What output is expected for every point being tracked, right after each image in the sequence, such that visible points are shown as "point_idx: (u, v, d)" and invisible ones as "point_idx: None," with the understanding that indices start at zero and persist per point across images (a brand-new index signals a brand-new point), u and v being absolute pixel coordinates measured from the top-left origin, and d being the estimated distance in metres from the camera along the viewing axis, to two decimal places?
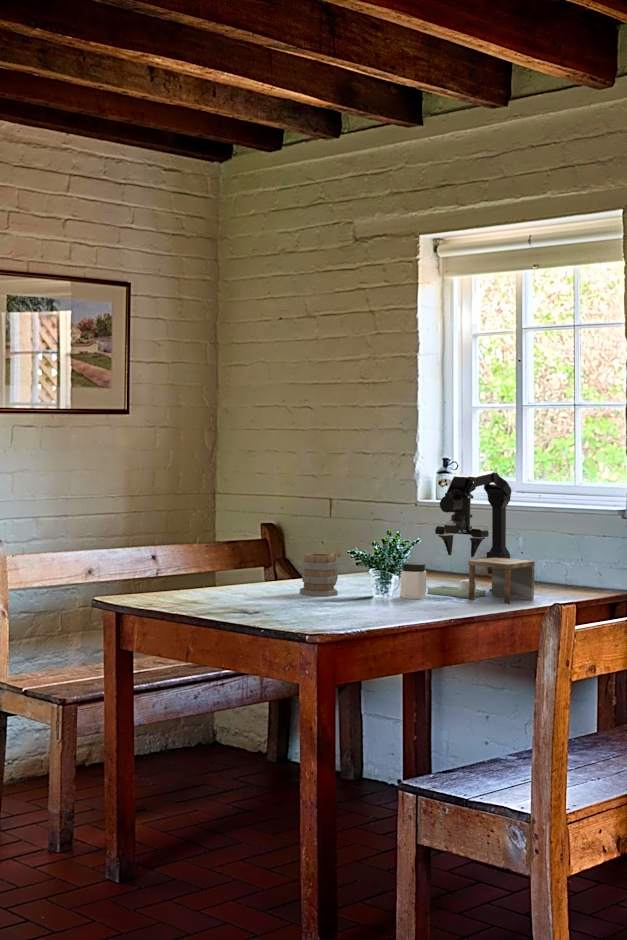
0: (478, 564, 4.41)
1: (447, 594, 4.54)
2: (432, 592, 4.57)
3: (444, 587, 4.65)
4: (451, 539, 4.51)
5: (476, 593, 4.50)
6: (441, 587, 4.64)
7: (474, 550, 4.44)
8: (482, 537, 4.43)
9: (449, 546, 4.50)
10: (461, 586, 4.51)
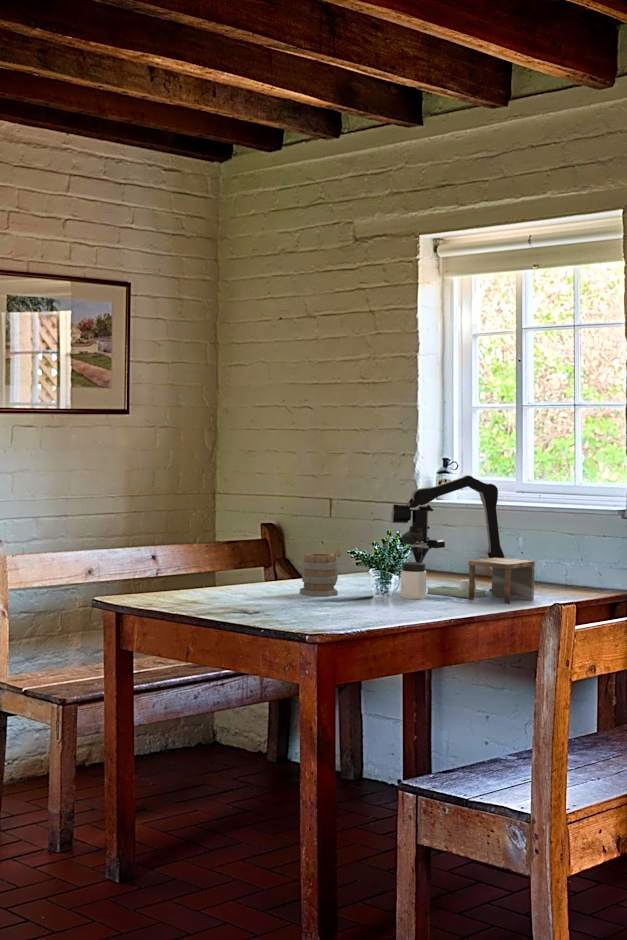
0: (478, 564, 4.41)
1: (447, 594, 4.54)
2: (432, 592, 4.57)
3: (444, 587, 4.65)
4: None
5: (476, 593, 4.50)
6: (441, 587, 4.64)
7: (421, 559, 4.66)
8: (428, 547, 4.65)
9: None
10: (461, 586, 4.51)
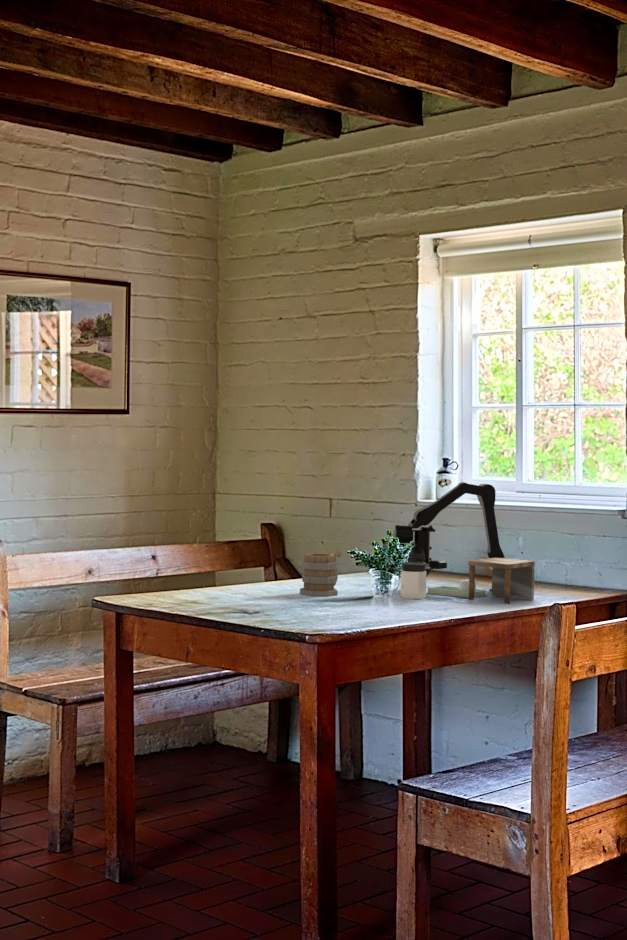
0: (478, 564, 4.41)
1: (447, 594, 4.54)
2: (432, 592, 4.57)
3: (444, 587, 4.65)
4: None
5: (476, 593, 4.50)
6: (441, 587, 4.64)
7: None
8: (430, 567, 4.65)
9: None
10: (461, 586, 4.51)
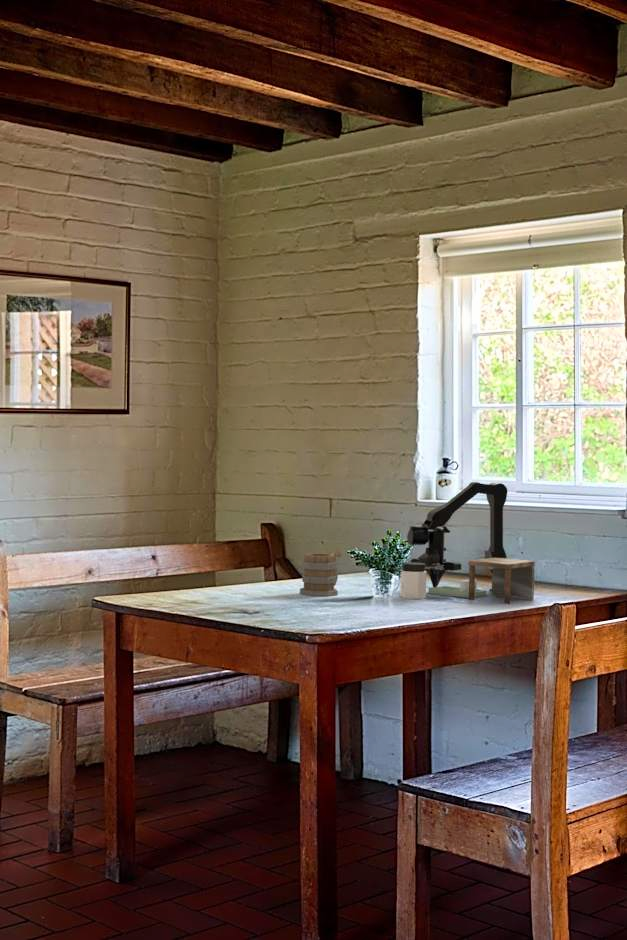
0: (478, 564, 4.41)
1: (448, 594, 4.53)
2: (433, 592, 4.57)
3: (445, 587, 4.65)
4: None
5: (477, 593, 4.50)
6: (442, 587, 4.64)
7: (437, 581, 4.62)
8: (444, 569, 4.61)
9: None
10: (462, 586, 4.51)
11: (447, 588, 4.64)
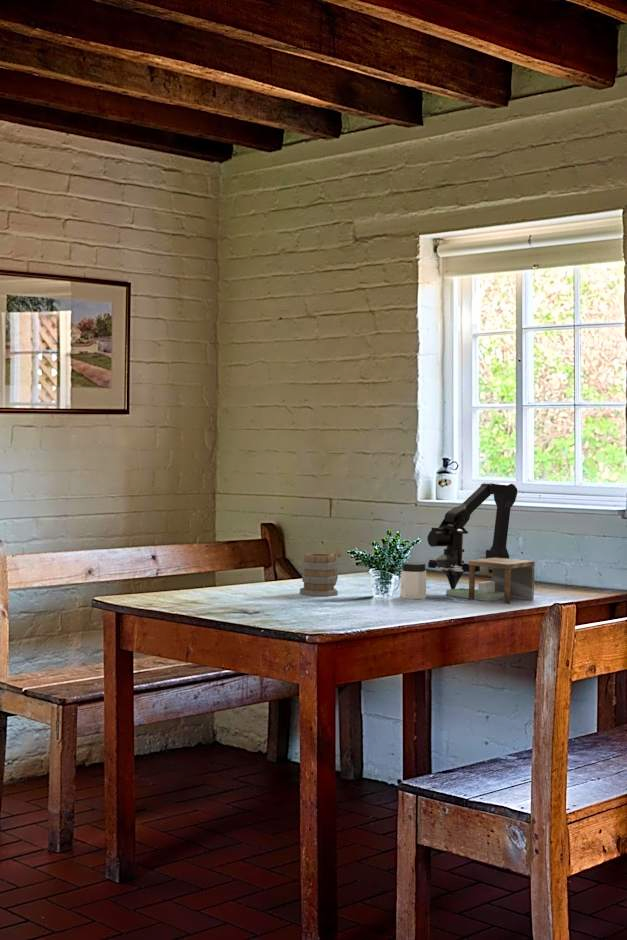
0: (478, 564, 4.41)
1: (466, 596, 4.48)
2: (450, 594, 4.52)
3: (462, 589, 4.60)
4: None
5: (495, 595, 4.45)
6: (459, 589, 4.59)
7: (455, 583, 4.57)
8: (463, 570, 4.56)
9: None
10: (480, 588, 4.46)
11: (465, 590, 4.59)
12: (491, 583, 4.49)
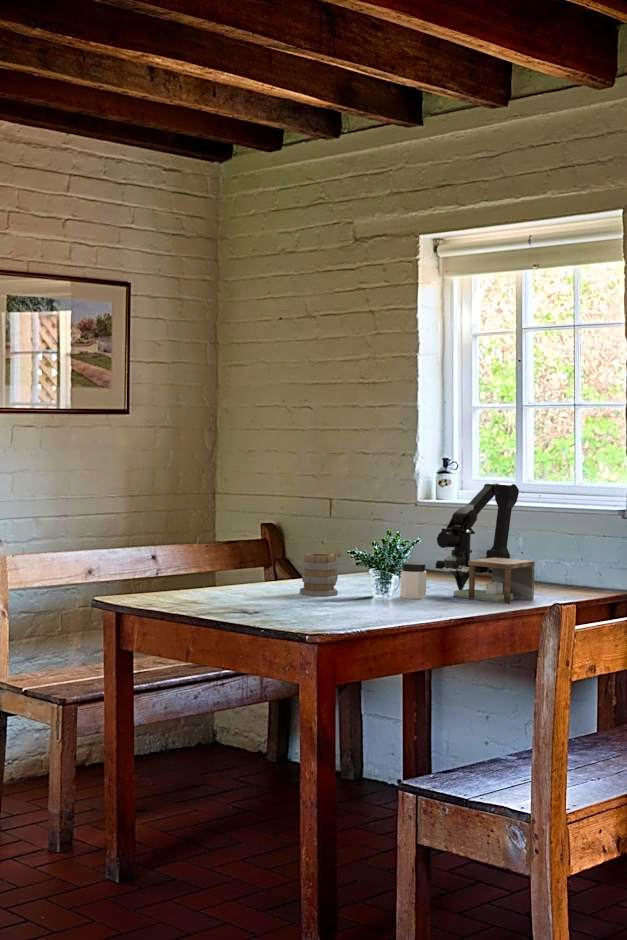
0: (478, 564, 4.41)
1: (474, 597, 4.46)
2: (458, 595, 4.50)
3: None
4: None
5: (503, 596, 4.43)
6: (467, 590, 4.57)
7: (462, 584, 4.55)
8: None
9: None
10: (488, 589, 4.44)
11: None
12: (499, 584, 4.47)
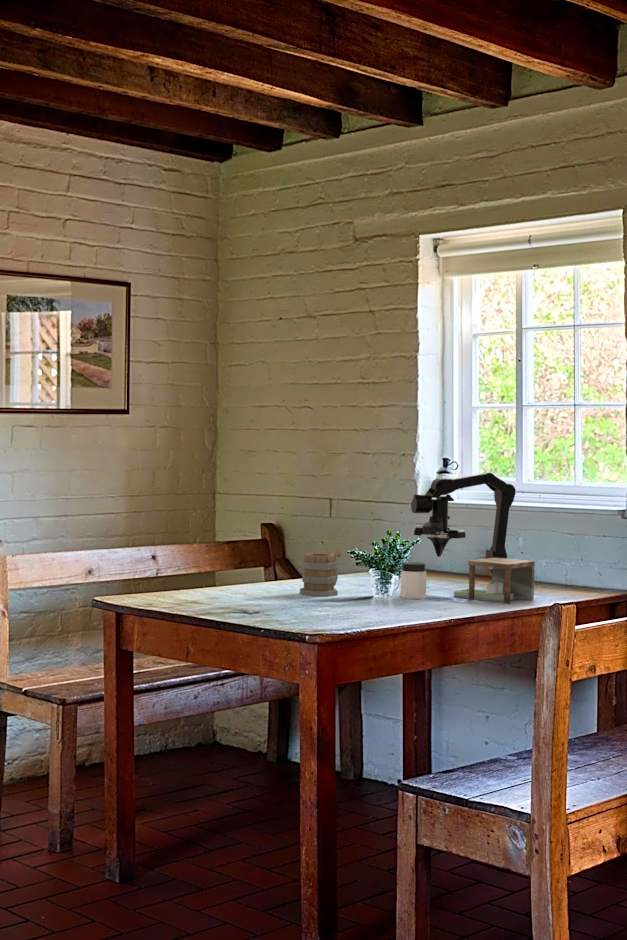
0: (478, 564, 4.41)
1: (474, 597, 4.46)
2: (458, 595, 4.50)
3: None
4: None
5: None
6: (467, 590, 4.57)
7: (441, 550, 4.62)
8: (449, 537, 4.61)
9: None
10: (488, 589, 4.44)
11: None
12: (499, 584, 4.47)
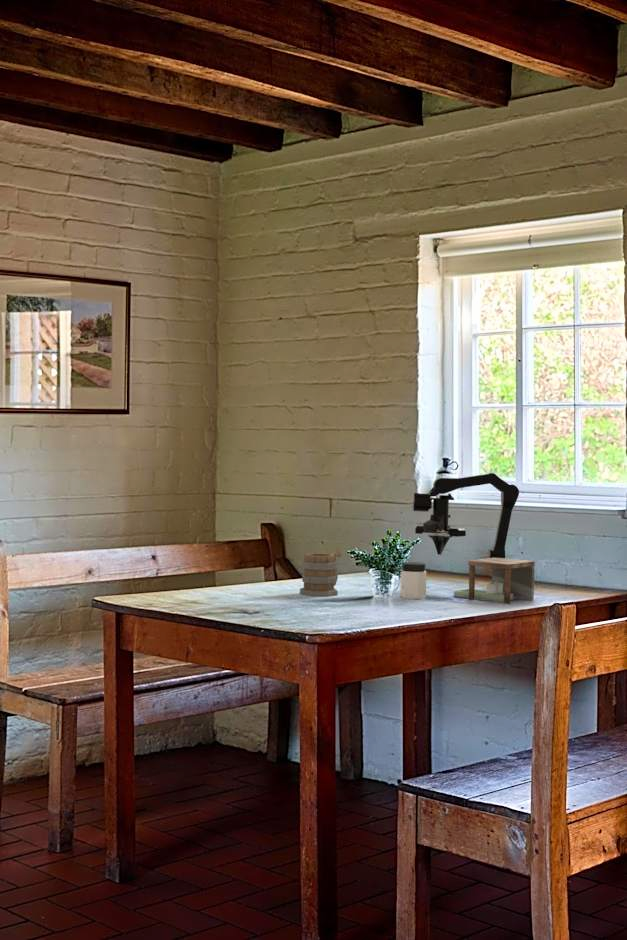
0: (478, 564, 4.41)
1: (474, 597, 4.46)
2: (458, 595, 4.50)
3: None
4: None
5: None
6: (467, 590, 4.57)
7: (441, 548, 4.69)
8: (449, 535, 4.68)
9: None
10: (488, 589, 4.44)
11: None
12: (499, 584, 4.47)
